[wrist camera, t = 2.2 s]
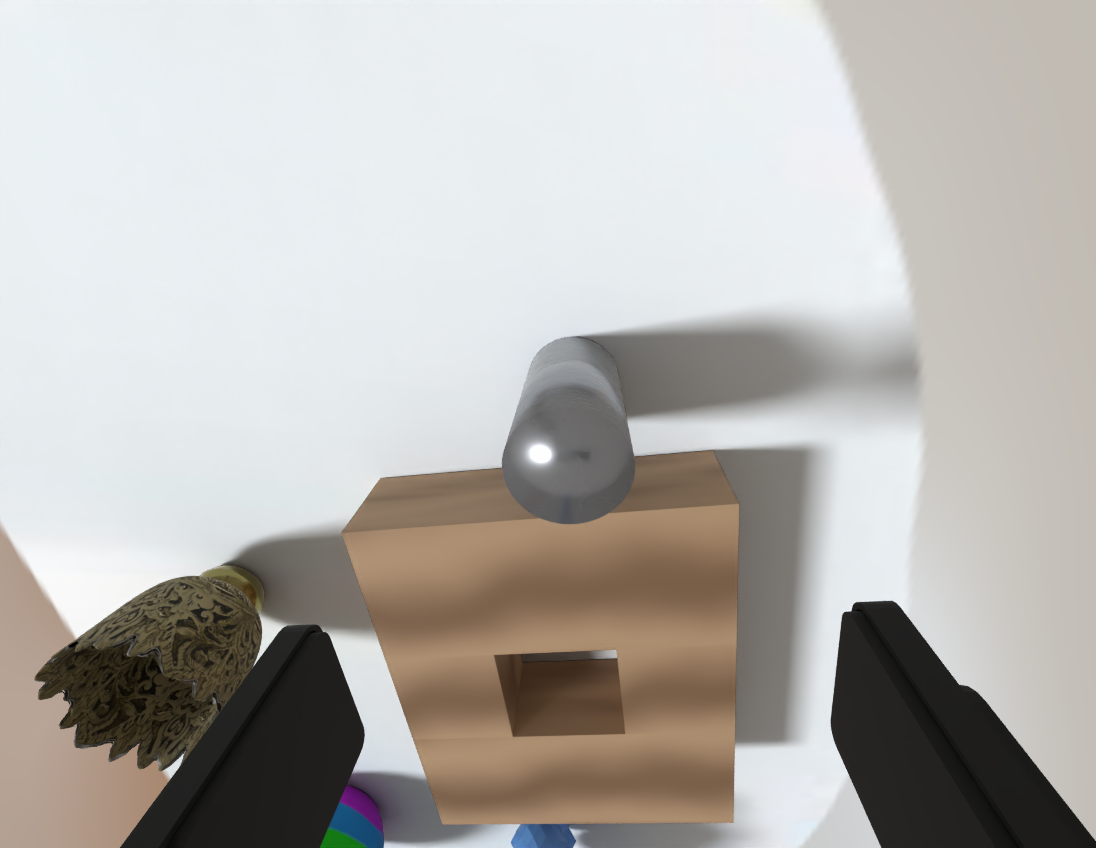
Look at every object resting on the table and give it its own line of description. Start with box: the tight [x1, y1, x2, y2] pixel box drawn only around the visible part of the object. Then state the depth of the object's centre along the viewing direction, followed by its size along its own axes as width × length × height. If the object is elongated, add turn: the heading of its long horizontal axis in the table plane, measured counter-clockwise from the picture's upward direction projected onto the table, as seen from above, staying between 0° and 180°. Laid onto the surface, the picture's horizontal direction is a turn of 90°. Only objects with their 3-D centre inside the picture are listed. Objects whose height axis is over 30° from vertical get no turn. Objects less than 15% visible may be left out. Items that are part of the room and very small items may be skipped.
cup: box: [35, 565, 265, 771], centre depth 26 cm, size 8×7×8 cm
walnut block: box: [341, 450, 739, 824], centre depth 27 cm, size 20×16×4 cm
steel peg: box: [502, 337, 635, 524], centre depth 19 cm, size 4×4×8 cm
